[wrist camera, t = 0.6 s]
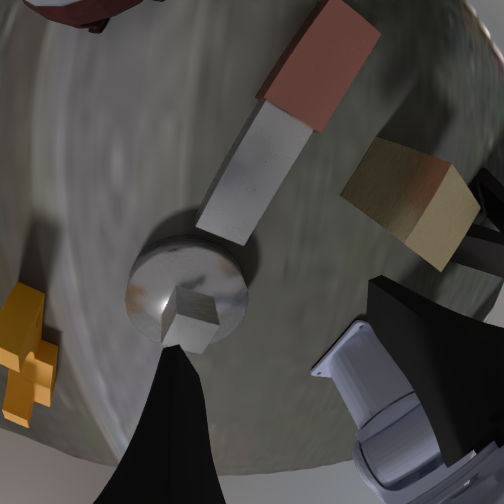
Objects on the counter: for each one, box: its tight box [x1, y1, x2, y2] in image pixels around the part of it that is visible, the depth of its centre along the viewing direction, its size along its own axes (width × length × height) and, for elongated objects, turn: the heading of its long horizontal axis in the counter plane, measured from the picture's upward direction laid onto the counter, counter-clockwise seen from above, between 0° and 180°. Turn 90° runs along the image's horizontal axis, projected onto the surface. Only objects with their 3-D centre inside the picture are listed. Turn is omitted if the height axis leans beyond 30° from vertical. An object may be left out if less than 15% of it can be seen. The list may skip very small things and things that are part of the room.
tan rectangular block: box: [340, 137, 481, 272], centre depth 16 cm, size 5×5×7 cm
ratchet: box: [125, 0, 381, 354], centre depth 15 cm, size 8×25×5 cm, turn 150°
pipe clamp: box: [0, 282, 58, 428], centre depth 16 cm, size 12×4×6 cm, turn 149°
